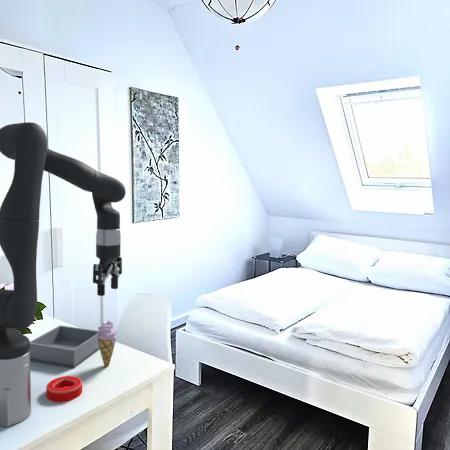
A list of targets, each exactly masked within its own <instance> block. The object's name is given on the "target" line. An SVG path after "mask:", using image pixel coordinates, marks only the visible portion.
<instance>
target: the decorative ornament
mask: <svg viewBox="0 0 450 450" xmlns="http://www.w3.org/2000/svg"><path fill="white" fill-rule="evenodd" d="M45 388H46V392H45V393H46V399H48V401H50V402H54V403H65V402H71V401H73V400H75V399H77V398H79V397H80V396H81V395H82V393H83V380H82V379H81V378H80V377H77V376H71V375H64V376H60V377H57V378H56V377H55V378H54V379H52V380H50V381H49V382H48V383H47V384H46V387H45Z"/></svg>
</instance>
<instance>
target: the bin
mask: <svg viewBox="0 0 450 450" xmlns="http://www.w3.org/2000/svg"><path fill="white" fill-rule="evenodd" d="M97 331H98V330H96V329H90V328H89V329H88V328H83V327H82V328H80V327H73V326H67V325H61V324H60V325H58V326H56V327H54V328H53V329H51V330H48V331H47V332H46V333H43V334H42V335H39V336H37V337H36V338H34V339H33V340H29V341H30V362H34V363H35V362H36V363H41V364H47V365H54V366H59V367H63V368H64V367H66V368H71V369H75V368H76V367H79V366H80V365H81V364H82V363H84V362H85V361H86V360H87V359H89V358H90V357H92V356H93V355H94V354H96V353H97V352H98V351H100V349H99V344H98V339H97V335H98V333H97Z"/></svg>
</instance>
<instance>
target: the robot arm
mask: <svg viewBox="0 0 450 450" xmlns="http://www.w3.org/2000/svg"><path fill="white" fill-rule="evenodd" d="M47 137H48V136H47V134H46V132H45V130H44V129H43V127H42V126H41V125H40V124H38V123H36V122H31V121H29V122H17V123H9V124H7V125H4V126H2V127H1V128H0V154H2V155H3V156H5V157H6V158H8V159H11V160H13V161H14V172H13V177H12V181H11V185H9V188H8V190H7V192H6V193H5V197H4V198H3V200H2V202H1V205H0V248H1V250H2V252H3V254H4V256H5V258H6V260H7V262H8V263H9V266H10V269H11V272H12V276H13V289H6V288H5V289H3V288H0V427H6V428H9V427H11V426H13V425H16V424H18V423H21V422H23V421H25V420H26V419H27V418H29V417H30V415H31V413H32V412H31V411H32V396H31V395H32V392H31V389H32V388H31V387H32V386H31V381H32V380H31V361H30V341H31V340H30V338H29V337H27V335H24V334H22V333H21V332H20V331H19V330H25V329H28V328H29V327H30V326H31V325H32V324H33V322H34V320H35V318H36V315H37V309H38V287H37V286H38V285H37V257H38V256H37V255H38V242H39V241H38V240H39V230H40V211H41V210H40V208H41V198H42V197H41V196H42V185H43V184H42V183H43V177H44V176H43V175H44V172H47V173H49V174H51V175H53V176H55V177H57V178H59V179H62V180H63V181H66V182H67V183H69V184H71V185H72V186H74V187H77V188H78V189H81V190H82V191H85V192H88V193H91V195H92V196H91V197H92V202H93V205H94V210H95V213H96V234H95V257H96V258H97V259H98V260H99V263H94V264H93V266H92V270H93V271H92V284H96V285H97V286H96V287H97V291H96V293H97V296H98V297H99V296H100V297H104V296H105V295H106V294H105V293H106V290H105V289H106V284H105V283H106V280H107V279H108V278H109V276H111V277H110V288H111V289H113V290H117V289H118V288H119V278H120V275H122V274H123V257H121V244H122V243H121V236H122V235H121V215H120V212H119V211H118V210H116V209H115V208H113V204H112V203H119V202H121V201H122V200H124V198H125V196H126V193H127V191H126V187H125V185H124V184H123V182H121V181H120V180H119V179H118V178H115V177H113V176H111V175H107V174H105V173H103V172H100V171H97V170H96V169H94V168H93V166H90V165H88V164H86V163H85V162H83V161H81V160H79V159H77V158H73V157H71V156H69V155H66V154H62V153H60V152H57V151H55V150H52V149H50V148H48V138H47Z"/></svg>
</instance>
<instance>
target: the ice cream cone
mask: <svg viewBox="0 0 450 450" xmlns="http://www.w3.org/2000/svg"><path fill="white" fill-rule="evenodd" d="M97 328H98V330H96V331H97V333H98V335H97V339H98V344H99V353H100V355H101V359H102V362H103V365H104V367H106V368H107V367H109V366H110V363H111V359H112V357H113V354H114V349H115V345H116V340H117V333H119V332H120V330H116V328H115V324H114V323H113V322H112V321H111V320H107V322H102V325H100V326H98V327H97Z"/></svg>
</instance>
